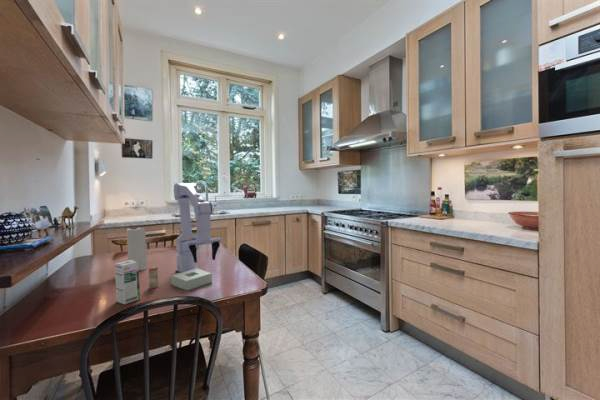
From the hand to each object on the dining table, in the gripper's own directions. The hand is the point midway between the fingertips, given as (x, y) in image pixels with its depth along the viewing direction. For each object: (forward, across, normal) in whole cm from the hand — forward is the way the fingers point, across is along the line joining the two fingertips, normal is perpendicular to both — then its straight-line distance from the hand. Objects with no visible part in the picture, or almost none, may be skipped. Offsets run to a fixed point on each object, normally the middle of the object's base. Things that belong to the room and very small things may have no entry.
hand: (204, 260), depth 119 cm
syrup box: (+10, -28, -2) cm, 30 cm away
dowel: (+10, -19, +8) cm, 23 cm away
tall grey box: (+10, -25, +40) cm, 48 cm away
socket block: (+10, -5, +3) cm, 12 cm away
